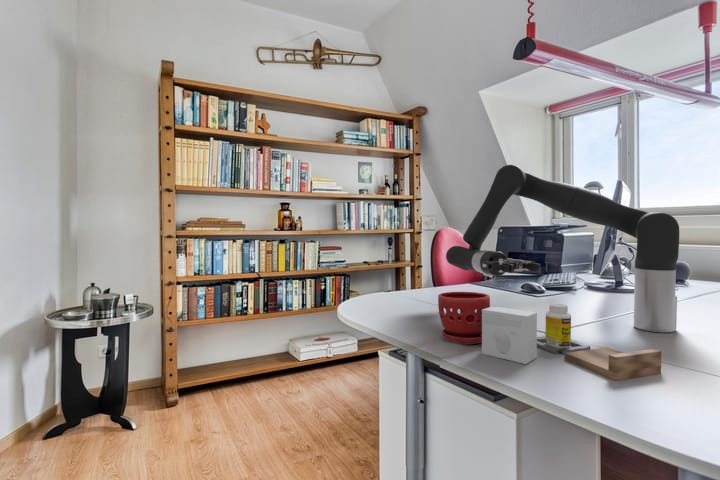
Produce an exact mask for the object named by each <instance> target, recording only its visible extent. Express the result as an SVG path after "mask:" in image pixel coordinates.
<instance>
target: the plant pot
mask: <svg viewBox="0 0 720 480" xmlns="http://www.w3.org/2000/svg"><path fill="white" fill-rule="evenodd" d="M437 298H438V301H437V303H438V304H437V305H438V306H437V307H438V314H439V318H440V321H441V325H442V328H443V329H442V331H441V335H442V337H443V338H445V340H446V341H450V342H453V343H456V344H462V345H473V344H475V345H478V344H479V343H482V309H486V308H490V307H491V296H490V295H489V294H487V293H481V292H476V291H475V292H474V291H473V292H471V291H448V292H442V293H439V294H438V296H437ZM444 309H445V311H444ZM458 310H460V312H458Z"/></svg>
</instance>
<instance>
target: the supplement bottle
mask: <svg viewBox="0 0 720 480" xmlns="http://www.w3.org/2000/svg"><path fill="white" fill-rule="evenodd" d="M548 306H549V308H548V310H547V312H545V329H544V330H545V335H544V336H545V343H544V344H546V345H549V346H552V347H554V348H557V349H561V348H569V347H571V345H570V344H571V340H572V338H571V337H572V335H571V334H572V331H571V330H572V315H571V314H570V313H569V312H568V310H569V308H568V305H567V304H564V303H550V304H549V305H548Z"/></svg>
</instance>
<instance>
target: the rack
mask: <svg viewBox="0 0 720 480" xmlns="http://www.w3.org/2000/svg"><path fill="white" fill-rule="evenodd" d="M564 361H568V362H571V363H573V364H575V365H577V366H580V367H582V368H584V369H586V370H589V371H591V372H594V373H596V374H599V375H601V376H604V377H605V378H608V379H611V380H613V381H620V380H621V381H622V380H627V379H633V378H641V377H646V376H652V375H653V376H654V375H660V374H662V350H659V349H655V348H649V349H642V350H635V351H628V352H621V351H618V350H615V349H612V348H609V347H599V348H590V350H582V351H575V352H567V353H565V354H564Z"/></svg>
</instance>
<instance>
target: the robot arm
mask: <svg viewBox="0 0 720 480" xmlns="http://www.w3.org/2000/svg"><path fill="white" fill-rule="evenodd" d="M513 195H514V196H518V197H523V198H526V199H529V200H533V201H535V202H538V203H540V204H542V205H544V206H546V207H548V208H549V209H552V210H554V211H557V212H559V213H561V214H563V215H567V216H568V217H569V216H570V217H571V218H574V219H577V220H581V221H584V222H588V223H592V224H596V225H599V226H604V227H607V228H608V227H610V228H612V229H615V230H618V231H619V232H622V233H624V234H626V235H629V236H631V237H633V238H635V239H636V255H635V259H634V287H633V288H634V292H633V293H634V294H633V295H634V296H633V299H634V300H633V327H634V328H636V329H639V330H643V331H646V332H653V333H654V332H655V333H674V332H675V331H676V330H677V320H678V319H677V316H678V315H677V312H678V311H677V310H678V296H676V281H677V280H676V278H677V277H676V276H677V275H676V274H677V263H678V260H679V255H680V254H679V252H680V251H679V249H680V225H679V223H678V220H677V219H676V218H675V217H674V216H672V215H671V214H669V213H666V212H661V211H660V212H657V211H655V212H652V211H645V210H642V209H638V208H634V207H630V206H627V205H625V204H621V203H619V202H617V201H615V200H612V199H611V198H609V197H608V196H606V195H605V196H604V195H602V194H601V193H599V192H596V191H594V190H591V189H587V188H584V187H581V186H578V185H574V184H570V183H567V182H560V181H555V180H554V181H553V180H548V179H544V178H541V177H539V176H536V175H534V174H532V173H529V172H527V171H525V170H523V169H522V168H521V167H520V166H518V165H516V164H507V165H506V164H505V165H503V166H502V167H501V168H499V169H498V170H497V172H496V174H495V176H494V179H493V181H492V183H491V187H490V188H489V191H488V194H487V195H486V197H485V199H484V201H483V203H482V204H481V206H480V208H479V209H478V211H477V212H476V214H475V216H474V218H472V220H471V222H470V224H469V225H468V227H467V229H466V230H465V231H464V234H463V236H462V239H463V242H465V243H466V244H468V248H467V247H464V246H460V245H453V246H451V247H450V248H449V249H448V250H447V251H446V254H445V258H446V261H447V263H448V264H449V265H451V266H454V267H456V268H458V269H461V270H463V271H470V270H471V271H472V272H473V271H474V272H479V273H481V274H485V275H489V276H494V277H500V276H503V275H504V274H506V273H511V274H512V273H514V272H521V273H522V272H523V271H527V272H535V273H536V272H537V273H538V272H540V271H541V270H540V268H541V265H540V263H536V261H533V260H524V259H523V260H522V259H513V258H510V257H509V258H508V256H507V255H506V254H505V253H503V252H502V251H495V250H486V249H485V250H481V249H482V246H483V243H484V242H485V241H486V238H487V237H488V235H489V234H490V232H491V231H492V229H493V227H494V225H495V223H496V221H497V219H498V217H499V214H500V212H501V211H502V209H503V207H504V206H505V204H506V203H507V201H509V199H510V198H511V197H512V196H513Z"/></svg>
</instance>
